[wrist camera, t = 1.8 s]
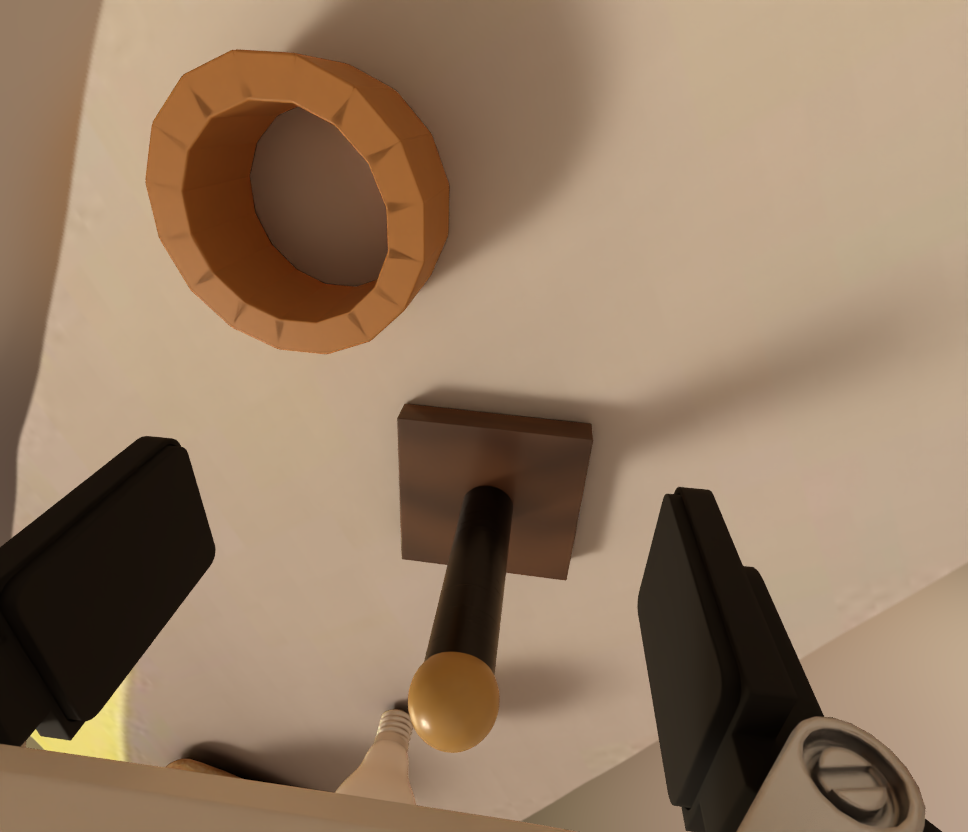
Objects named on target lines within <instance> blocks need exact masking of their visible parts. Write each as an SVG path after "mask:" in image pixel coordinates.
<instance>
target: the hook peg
mask: <svg viewBox="0 0 968 832" xmlns="http://www.w3.org/2000/svg"><path fill="white" fill-rule="evenodd" d="M512 514H513V503H512V501H511V499H510V497H509V496H508V495H507V494H506V493H505V492H504V491H503V490H501V489H499V488H496V487H493V486H479V487H475V488H473V489H471V490H470V491H469V492H468V493H467V494H466V495H465V497H464V499H463V503H462V507H461V511H460V516H459V520H458V524H457V528H456V532H455V536H454V540H453V545H452V549H451V553H450V557H449V561H448V565H447V569H446V574H445V578H444V582H443V586H442V590H441V594H440V598H439V603H438V607H437V611H436V615H435V619H434V623H433V627H432V632H431V636H430V640H429V644H428V648H427V652H426V656H425V661H424V663H423V664H422V665H421V666H420V667H419V669H418V670H417V672H416V673H415V675H414V677H413V679H412V682H411V685H410V689H409V694H408V710H409V715H410V719H411V722H412V724H413V727H414V729H415V730H416V732H417V734H418V735H419V736H420V737H421V738H422V740H423V741H424V742H426V743H427V744H428V745H430V746H431V747H433V748H435V749H437V750H440V751H444V752H451V753H455V752H461V751H465V750H468V749H470V748H472V747H474V746H476V745H477V744H478V743H480V742H481V741H482V740H483V739H484V738H485V737H486V736H487V735H488V733H489V732H490V730H491V729H492V727H493V725H494V723H495V721H496V718H497V715H498V710H499V689H498V684H497V681H496V679H495V676H494V675H495V666H496V657H497V648H498V639H499V630H500V621H501V612H502V603H503V594H504V586H505V577H506V568H507V559H508V550H509V541H510V532H511V523H512Z"/></svg>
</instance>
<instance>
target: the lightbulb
mask: <svg viewBox="0 0 968 832" xmlns="http://www.w3.org/2000/svg"><path fill="white" fill-rule="evenodd" d="M412 729H413V724H412V722H411V719H410V715H409V714H408V713H406V712H405V711H404V710H402V709H393V710H388V711H386V712H384V713H383V714H382V716H381V721H380V723H379V727H378V731H377V733H376V737H375V740H374V743H373V745H372V746H371V747H370V749H369V750H368V752H367V753H366V755H365V758H364V760H363V761H362V763H361V765H360V766H359V767H358V768H357V769H356V770H355V771H354V772H353V773H352V774H351V775H350V776H349V777H348V778H347V779H346V780H345V781H344V782H343V783H342V784H341V785H340V786H339V787H338V789H337V790H336V791H335V793H340V794H346V795H353V796H359V797H366V798H372V799H379V800H385V801H392V802H398V803H405V804H411V805H416V802H415V798H414V795H413V792H412V789H411V786H410V783H409V778H408V766H409V761H408V755H407V751H408V746H409V741H410V736H411V734H412Z"/></svg>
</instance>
